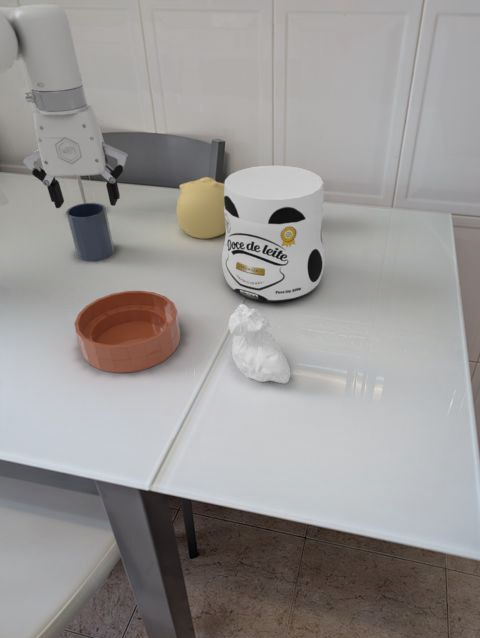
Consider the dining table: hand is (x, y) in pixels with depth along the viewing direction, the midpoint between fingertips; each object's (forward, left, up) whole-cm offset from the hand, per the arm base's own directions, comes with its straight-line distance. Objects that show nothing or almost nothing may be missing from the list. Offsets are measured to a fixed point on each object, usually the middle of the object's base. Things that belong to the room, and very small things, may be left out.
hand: (87, 204), depth 89 cm
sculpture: (+21, +9, -10) cm, 25 cm away
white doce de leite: (+33, -13, -10) cm, 37 cm away
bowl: (+11, -29, -10) cm, 33 cm away
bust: (+29, -36, -10) cm, 47 cm away
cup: (0, 0, -10) cm, 10 cm away
